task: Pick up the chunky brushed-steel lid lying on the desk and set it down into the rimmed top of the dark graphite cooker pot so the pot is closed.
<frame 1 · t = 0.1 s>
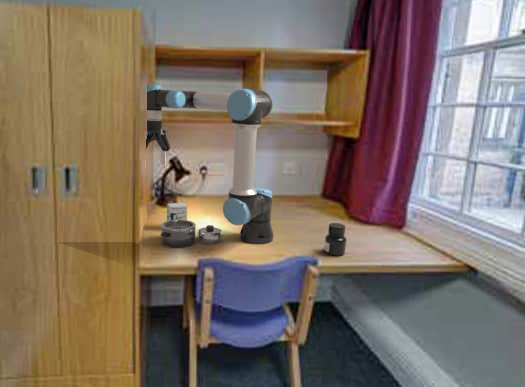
hand: (153, 166, 192), 28 cm above the table, fingers open, 13 cm apart
lid: (209, 240, 182), on the table
pot: (178, 242, 177), on the table
ink box: (176, 229, 194), on the table
ink bottle: (334, 252, 176), on the table
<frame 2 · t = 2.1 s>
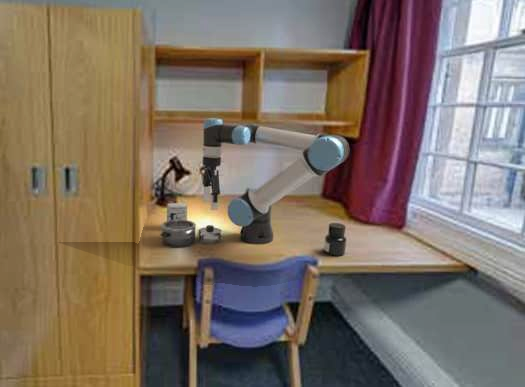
hand: (210, 205, 178), 16 cm above the table, fingers open, 13 cm apart
nothing on the table moved.
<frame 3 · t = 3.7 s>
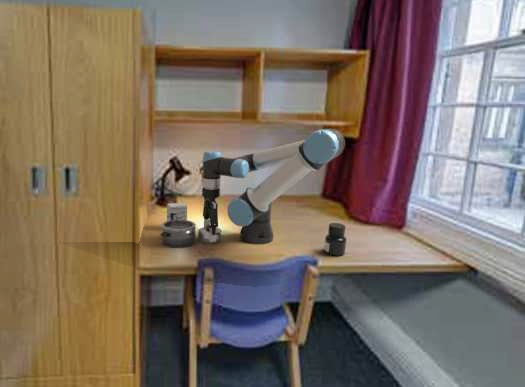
hand: (209, 237, 181), 1 cm above the table, fingers closed on lid, 10 cm apart
lid: (209, 240, 182), on the table, touching gripper
everything else where it was.
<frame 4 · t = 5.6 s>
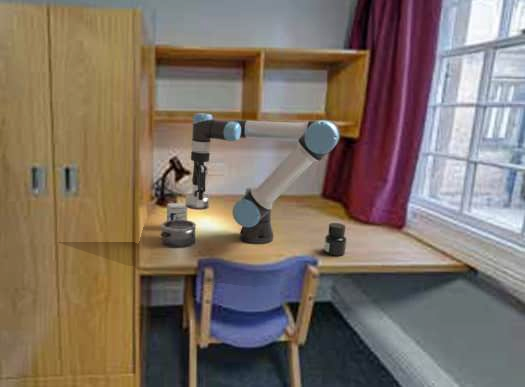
hand: (197, 203, 177), 17 cm above the table, fingers closed on lid, 10 cm apart
lid: (197, 206, 177), point 15 cm above the table, touching gripper
everything else where it was.
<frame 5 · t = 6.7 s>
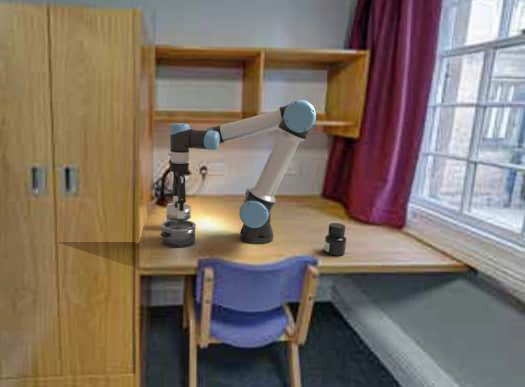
hand: (178, 214, 174), 12 cm above the table, fingers closed on lid, 10 cm apart
lid: (178, 217, 175), point 11 cm above the table, touching gripper
everything else where it was.
when the fingers open (10 cm above the table, at t = 7.6 s): lid drops 1 cm, resting on pot.
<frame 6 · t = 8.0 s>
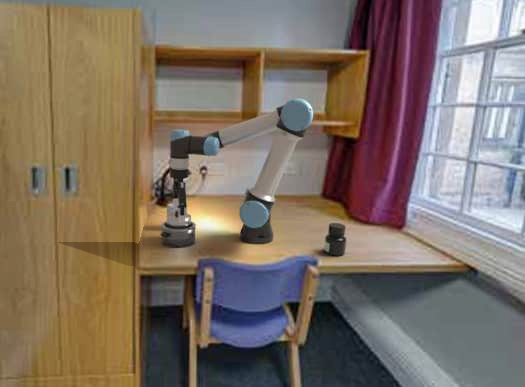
hand: (178, 217, 175), 11 cm above the table, fingers open, 13 cm apart
lid: (178, 226, 176), point 7 cm above the table, touching pot
everything else where it was.
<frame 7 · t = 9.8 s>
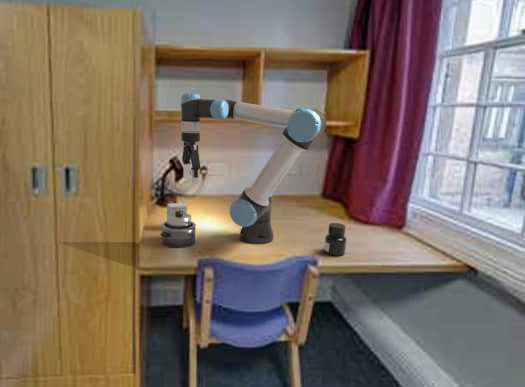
hand: (190, 182, 178), 25 cm above the table, fingers open, 13 cm apart
nothing on the table moved.
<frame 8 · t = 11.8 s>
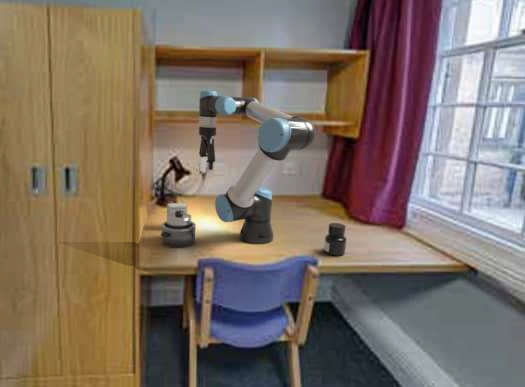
hand: (206, 173, 189), 27 cm above the table, fingers open, 13 cm apart
nothing on the table moved.
at the end: lid 0.1 cm off-centre on the pot, point 7.0 cm above the pot's base; lid tilted 0°; the gripper is holding nothing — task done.
